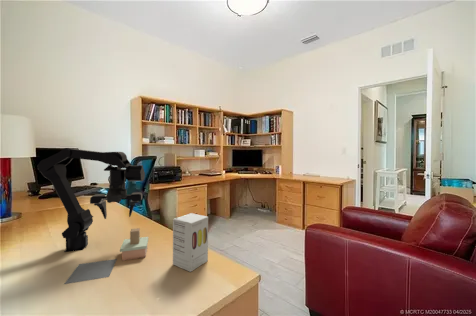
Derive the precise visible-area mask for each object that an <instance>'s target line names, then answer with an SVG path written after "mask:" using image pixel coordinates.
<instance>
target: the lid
mask: <svg viewBox="0 0 476 316" xmlns="http://www.w3.org/2000/svg"><path fill="white" fill-rule="evenodd" d="M140 230H141V229H140V227H136V228H131V229H130V232H129V238H126V239H125V238H124V239H123V242H122V243H121V246H120V249H119V252H120V253H122V252H123V251H131V250H138V249H146V248H147V249H148V243H149V236H144V237H143V236H142V237H140V236H141V235H140V234H141V231H140Z"/></svg>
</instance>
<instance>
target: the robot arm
mask: <svg viewBox="0 0 476 316" xmlns="http://www.w3.org/2000/svg"><path fill="white" fill-rule="evenodd" d="M73 159H76V160H77V159H78V160H85V161H87V160H88V161H95V162H101V163H104V164H106V165H107V166H106V167H105V168H104V169H103V171H105V172H109V187H108V191H107V192H106V195H105V193H97V194H96V193H95V194H94V195H92V196H91V197H89V198H90V199H89V204H91V205H93V206H97V207H98V208H99V211H101V214H102V216H103V218H104V220H107V215H108V214H107V213H108V211H107V203H110V204H111V203H120V202H121V201H122V200H130V202H129V211H128V212H129V213H128V216H129V217H128V218H130V217H131V216H132V214H133V210H134V208H135V205H136V204H138V203H139V202H141V201H142V200H143V193H142V191H141V192H140V191H139V192H138V191H137V192H135V191H134V192H132V193H130V194H128V191H127V188H126V180H127V182H143V181H144V180H145V176H146V172H145V169H144V165H142V164H141V165H132V163H131V162H130V161H129V160H128V157H127V155H126V153H125V152H123V151H106V152H105V151H95V150H86V149H79V148H78V149H77V148H74V147H65V148H63V149H61V150H60V151H58V152H57V153H54V154H53V155H52V154H51V155H50V156H48V157H47V158H43V159H42V160H39V162H38V164H37V170H38V171H39V173H41V175H42V176H43V177H44V178H46V179H47V180H48V181H50V182H51V184H52V186H53V188H54V190H55V192H56V194H57V196H58V197H59V199H60V202H61V203H62V205H63V207H64V209H65V211H66V213H67V218H66V223H67V226H68V227H67V228H65V230H63V231H62V232H61V236H62V238H63V239H65V250H63V253H70V252H78V251H83V250H84V249H85V248H86V247H87V246H88V244H89V236H88V235H87V231H88V230H89V229H90V227H91V225H92V224H93V221H94V220H93V218H94V216H93V214H92V213H91V210H90V209H89V208H87V209H85V208H84V207H82V205H81V204H80V202H79V199H77V196H76V194H75V192H74V190H73V189H72V186H71V184H70V182H69V181H68V178H67V167H66V166H67V165H69V164H70V163H71V162H72V160H73Z"/></svg>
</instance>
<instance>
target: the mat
mask: <svg viewBox="0 0 476 316" xmlns="http://www.w3.org/2000/svg"><path fill="white" fill-rule="evenodd" d="M117 260H118V258H113V259H106V260H99V261H93V262H85V263H79V264H78V265H77V267H75V269H74V270H73V271H72V273H71V274H70V276H69V277H68V278H67V279H66V281H65V282H64V284H63V285H68V284H69V285H70V284H73V283H81V282H86V281H93V280H99V279H100V280H101V279H104V278H105V279H106V278H110V276H111V273H112V272H113V270H114V267H115V264H116V262H117Z"/></svg>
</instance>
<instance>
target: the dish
mask: <svg viewBox="0 0 476 316" xmlns="http://www.w3.org/2000/svg"><path fill="white" fill-rule="evenodd" d="M147 252H148V247H147V248H146V249H138V250H131V251H123V252H121V260H122V261H129V260H137V259H138V260H139V259H145V258H146V257H147Z"/></svg>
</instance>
